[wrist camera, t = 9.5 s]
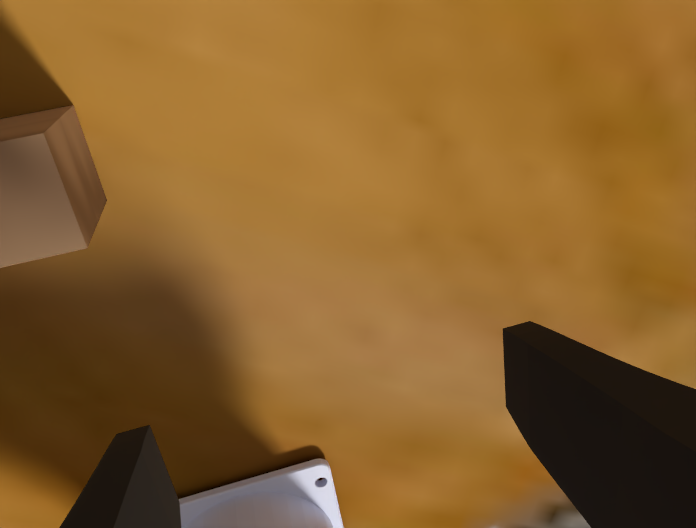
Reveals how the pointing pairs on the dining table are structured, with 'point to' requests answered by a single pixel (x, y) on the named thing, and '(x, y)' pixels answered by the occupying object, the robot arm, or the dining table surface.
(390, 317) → the dining table surface
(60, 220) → the walnut rail
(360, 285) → the dining table surface
